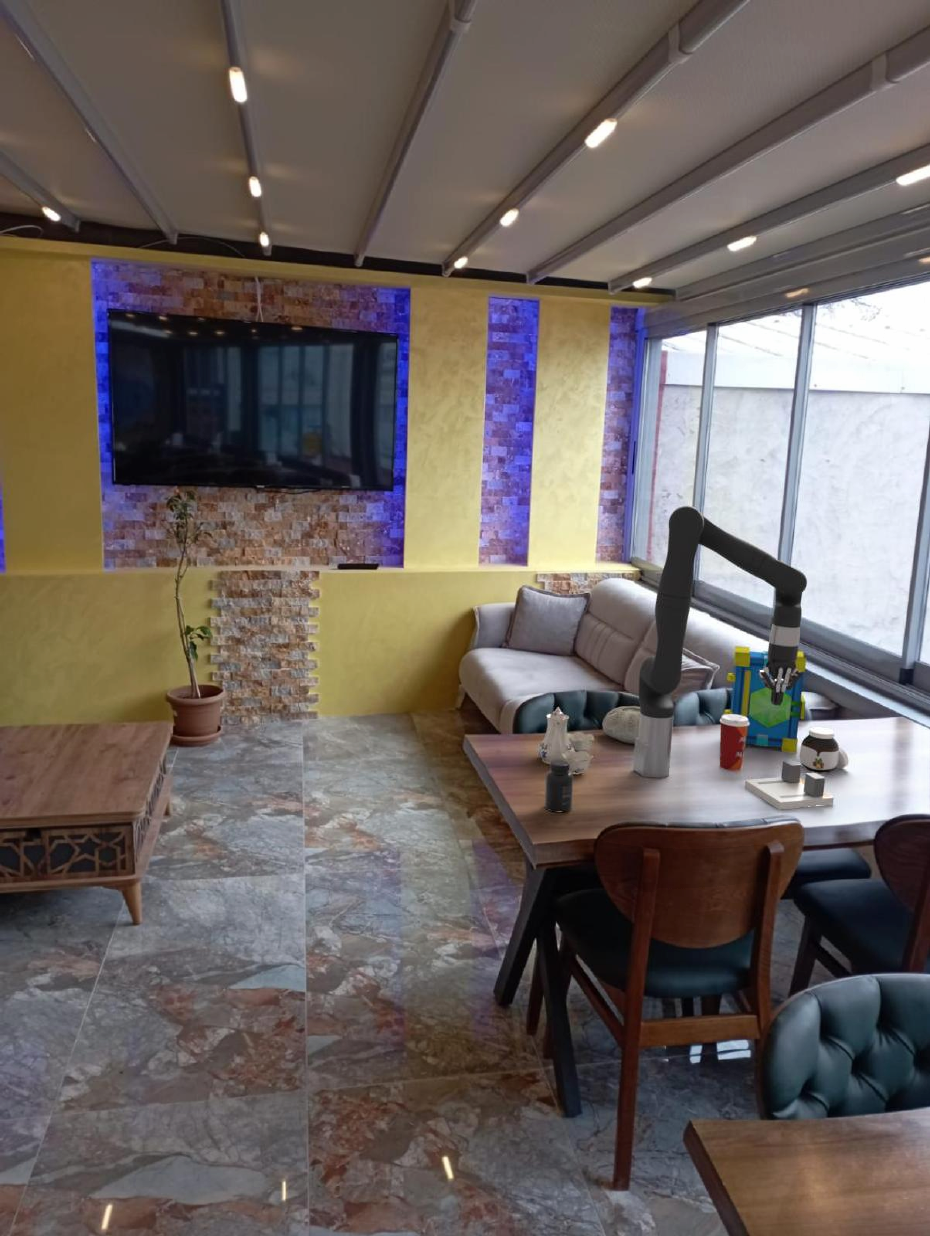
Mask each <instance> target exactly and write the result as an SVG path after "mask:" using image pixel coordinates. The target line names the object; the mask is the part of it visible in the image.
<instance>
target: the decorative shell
mask: <svg viewBox="0 0 930 1236" xmlns="http://www.w3.org/2000/svg"><path fill="white" fill-rule="evenodd" d="M639 721H640V706H636V705H633V706H632V705H631V706H619V707H615V708H613V709H611V710H610V711H608V712H607V714H605V716H604V718H603V720H602V724H601V725H602V730H603V732H604V733H605V734H606V735H607V736H609V737H611V738H612V739H616V740H618V741H620V742H623V743H627V744H631V745H632V744H633V745H635V738H638V734H639Z"/></svg>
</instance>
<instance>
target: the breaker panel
mask: <svg viewBox="0 0 930 1236" xmlns="http://www.w3.org/2000/svg"><path fill="white" fill-rule="evenodd" d="M804 783H805V780H804V779H802V778H800V782H799V783H789V782H787V781H785V780H784V779H782V778H781V776H780V777H779V776H778V777H767V778H755V779H754V778H752V779H745V780H744V788H745V789H747V790H748V791H750V792H752V793H754V794H755V795H756V796H758V797H760V798H761V799H762V800H764V801H766V802H767V803H769V804H770V805H772V806H773V807H775V808H776V809H778V810H779V811H780V810H789V809H792V810H793V809H799V808H798V807H804V808H809V807H808V806H815V807H817V806H816V805H827V806H831V805H830V804H833V805H834V799H835V797H833V796H832V795H830V794H828V793H826V792H825V791H824V793H823V796H820V797H812V796H811V795H809V794H807V793H805V792H804Z"/></svg>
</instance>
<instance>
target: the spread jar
mask: <svg viewBox="0 0 930 1236" xmlns="http://www.w3.org/2000/svg"><path fill="white" fill-rule="evenodd" d="M801 741H802V742H801V745H800V750H799V751H800V752H799V761H800V764H801V766H802V767H803V768H804V769H806V770H807V771H809V772H812V771H813V772H812V773H816V772H817V774H827V773H830V772H832V771H834V770H835V769H837V768H838V769H840V770H841V769H844V768H845V767H848V765H849V757H848V754H847V753H846V751H845V750H844V749H843V748H842V747H841V746H839V743H838V742H837V740H836V738H835V731H834V730H832V729H829V728H825V727H817V726H814V727H810V728H809V729H808V735H807V736H806V737H804V738H803V740H801Z"/></svg>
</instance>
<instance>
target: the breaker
mask: <svg viewBox="0 0 930 1236" xmlns="http://www.w3.org/2000/svg"><path fill="white" fill-rule="evenodd" d="M804 776H805V777H804V781H805V783H804V792H805V793H807V794H809V795H811V796H812V797H820V796H823V793H824V792H825V791H824V790H825V783H826V777H824V776H822V775H821V774H820V773H816V772H808V773H805V775H804Z"/></svg>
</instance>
